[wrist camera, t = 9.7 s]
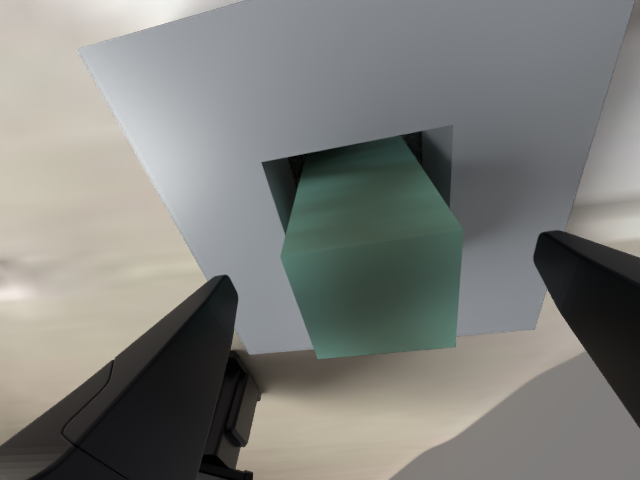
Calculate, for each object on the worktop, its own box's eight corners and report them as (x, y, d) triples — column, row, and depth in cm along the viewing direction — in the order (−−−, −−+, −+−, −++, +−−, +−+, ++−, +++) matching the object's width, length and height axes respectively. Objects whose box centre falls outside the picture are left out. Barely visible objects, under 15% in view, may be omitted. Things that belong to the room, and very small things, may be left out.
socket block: (264, 299, 19) (249, 354, 16) (152, 45, 11) (76, 49, 8) (495, 272, 17) (534, 329, 14) (551, -65, 9) (672, -123, 6)
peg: (325, 222, 15) (317, 359, 9) (307, 148, 13) (280, 257, 7) (402, 210, 15) (455, 347, 8) (397, 130, 13) (463, 229, 6)
